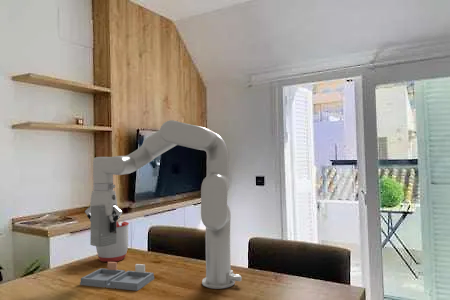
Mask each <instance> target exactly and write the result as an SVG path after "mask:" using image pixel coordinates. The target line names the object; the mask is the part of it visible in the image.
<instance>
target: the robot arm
mask: <svg viewBox="0 0 450 300" xmlns="http://www.w3.org/2000/svg"><path fill="white" fill-rule="evenodd" d="M176 146H181V147H186V148H190V149H194V150H198V151H199V150H200V151H204V152H206V177H204V178H203V180H202V183H201V187H200V219H201V221H202V224H203V226H204V227H205V277H203V278H202V280H201V284H202V286H203V287H206V288H207V289H215V290H217V289H218V290H219V289H221V290H222V289H227V288H230V287H233V286H234V285H235V283H236V282H242V276H241V275H240V274H237V273H236V274H235V273H234V270H233V269H231V261H232V260H231V216H232V215H231V210H230V207H229V206H228V192H229V189H230V177H229V171H230V170H229V152H228V146H227V144H226V142H225V140H224V139H223V137H222V136H220V134H218V133H216V132H214V131H213V130H210V129H209V128H206V127H203V126H199V125H195V124H190V123H187V122H186V123H185V122H181V121H178V120H173V119H172V120H170V119H169V120H167V121H165V122H163V124H162V125H161V126H160V129H159V130H158V131H155V132H154V133H153V134H151V135H149V136H147V137H146V138H145V139H144V140H143V142H142V144H141V146H140V147H138V148H137V149H135V150H134V151H133V152H130V153H129V154H126V155H115V156H96V157H94V158H93V161H92V182H93V183H92V185H93V186H92V187H93V189H92V191H91V196H90V205H89V207H87V209H86V210H84V214H86V216H87V219H88V220H89V222H90V223H91V206H105V213H106V216H108V217H109V219H110V221H111V222H110V233H112V232H115V231H116V221H117V222H118V220H119V219H120V217H121V215H122V214H123V211H122V210H121V209H120V208H119V206H118V199H117V194H116V193H117V192H116V190H114V189H115V188H116V184H114V176H122V175H129V174H131V173H134V172H136V171H137V170H140V169H141V168H143V167H145V166H146V165H148V164H149V163H150V162H152V161H154V160H155V159H156V158H157V157H159V156H161V155H162V154H164V153H166V152H167V151H169V150H171V149H173V148H174V147H176ZM113 210H115V211H116V214H117V215H116V214H114V212H113ZM112 212H113V214H112ZM115 215H116V216H115Z"/></svg>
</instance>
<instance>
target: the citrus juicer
mask: <svg viewBox="0 0 450 300" xmlns="http://www.w3.org/2000/svg"><path fill="white" fill-rule="evenodd" d="M129 224H130V223H129V222H128V221H122V222H121V224H119V222H118V221H117V241H116V244H112V245H108V246H104V247H97V246H95V247H96V253H97V257H98V260H99V261H101V262H103V263H104V262H105V263H108V262H117V263H118V262H119V261H122V260H124V259H125V258H126V256H127V252H128V248H129Z"/></svg>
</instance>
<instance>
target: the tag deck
mask: <svg viewBox="0 0 450 300" xmlns="http://www.w3.org/2000/svg"><path fill="white" fill-rule="evenodd" d="M134 267H135V270H127V271H126V270H124V269H118V261H117V262H107V268H99V269H96V270H94V271H92V272H91V273H89V274H86V275H85V276H82V277H81V278H80V282H79V285H80V286H88V287H99V288H105V287H106V288H109V289H115V288H116V289H117V290H127V291H139V290H141V289H142V288H144V287H145V286H146V285H148V284H149V283H151V282H152V281H154V280H155V276H154V274H155V273H154V272H148V271H146V264H145V263H144V264H141V263H136V264H135V265H134Z"/></svg>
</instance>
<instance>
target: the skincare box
mask: <svg viewBox="0 0 450 300" xmlns="http://www.w3.org/2000/svg"><path fill="white" fill-rule="evenodd" d="M113 212H114V214H116V211H115V210H113ZM113 212H112V214H113ZM116 215H117V214H116ZM116 215H115V216H116ZM110 222H111V221H110V219H109V217H108V216H106V213H105V206H91V222H90V244H89V245H91V246H94V247H96V246H97V247H104V246H108V245H112V244H116V241H117V222H118V220H117V221H116V231H115V232H112V233H110Z"/></svg>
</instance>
